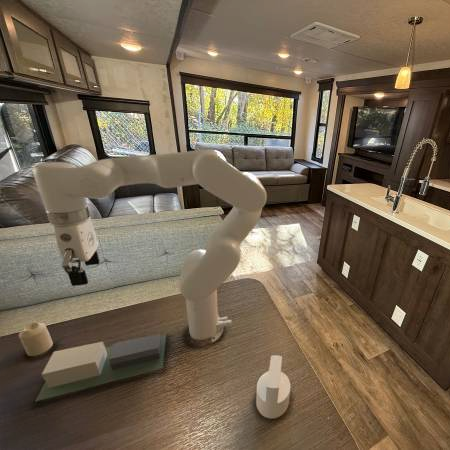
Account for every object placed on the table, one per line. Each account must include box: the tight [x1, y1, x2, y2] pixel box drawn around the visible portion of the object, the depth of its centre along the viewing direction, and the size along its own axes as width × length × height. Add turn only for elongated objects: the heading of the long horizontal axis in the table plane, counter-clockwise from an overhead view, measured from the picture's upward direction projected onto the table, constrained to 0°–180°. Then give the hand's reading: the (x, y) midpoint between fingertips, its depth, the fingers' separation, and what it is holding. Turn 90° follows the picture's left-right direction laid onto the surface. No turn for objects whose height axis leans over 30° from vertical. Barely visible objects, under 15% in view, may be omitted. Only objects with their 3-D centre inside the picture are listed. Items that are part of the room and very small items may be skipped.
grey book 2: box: [111, 340, 162, 370], centre depth 74 cm, size 12×6×2 cm, turn 113°
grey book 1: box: [109, 333, 161, 365], centre depth 73 cm, size 12×6×2 cm, turn 113°
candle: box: [18, 322, 54, 357], centre depth 73 cm, size 6×6×10 cm
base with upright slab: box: [255, 354, 291, 420], centre depth 65 cm, size 9×9×12 cm
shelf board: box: [35, 334, 167, 403], centre depth 72 cm, size 28×13×2 cm, turn 113°
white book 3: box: [47, 351, 107, 388], centre depth 69 cm, size 11×7×2 cm, turn 113°
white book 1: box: [41, 341, 105, 380], centre depth 67 cm, size 11×7×2 cm, turn 113°
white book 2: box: [44, 345, 106, 383], centre depth 68 cm, size 11×7×2 cm, turn 113°
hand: (87, 273), depth 67 cm, fingers open, 9 cm apart
